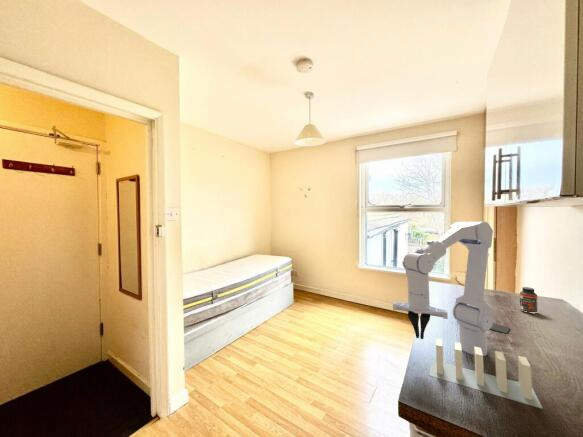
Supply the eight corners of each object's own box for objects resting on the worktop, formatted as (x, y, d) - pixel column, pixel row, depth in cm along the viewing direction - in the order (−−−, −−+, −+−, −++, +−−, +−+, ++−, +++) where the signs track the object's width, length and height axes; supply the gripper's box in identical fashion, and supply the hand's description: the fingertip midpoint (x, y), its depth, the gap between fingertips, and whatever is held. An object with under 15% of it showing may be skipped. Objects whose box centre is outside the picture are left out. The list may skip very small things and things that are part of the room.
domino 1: (455, 369, 68) (454, 342, 69) (462, 371, 68) (460, 343, 68) (456, 378, 65) (455, 349, 65) (462, 380, 64) (461, 350, 64)
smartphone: (507, 333, 91) (461, 321, 102) (507, 336, 91) (461, 323, 102) (511, 327, 95) (466, 316, 107) (511, 330, 95) (466, 318, 107)
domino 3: (496, 380, 64) (495, 350, 64) (503, 382, 63) (502, 352, 63) (499, 390, 60) (498, 358, 60) (507, 392, 59) (505, 360, 59)
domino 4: (519, 386, 61) (517, 355, 61) (527, 388, 60) (525, 357, 60) (523, 397, 57) (522, 364, 57) (532, 400, 57) (530, 366, 57)
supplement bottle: (521, 312, 111) (520, 288, 111) (518, 308, 116) (517, 285, 116) (539, 315, 107) (538, 290, 108) (535, 311, 112) (534, 287, 113)
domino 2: (475, 375, 66) (474, 346, 66) (482, 376, 65) (480, 347, 65) (476, 384, 62) (475, 353, 62) (484, 386, 62) (482, 355, 62)
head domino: (437, 365, 71) (436, 338, 71) (443, 366, 70) (442, 339, 70) (437, 373, 67) (436, 344, 67) (443, 374, 66) (442, 346, 67)
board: (431, 363, 74) (431, 359, 74) (531, 390, 61) (531, 385, 61) (429, 379, 66) (429, 375, 66) (543, 413, 54) (542, 408, 54)
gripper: (390, 292, 73) (391, 336, 72) (446, 300, 64) (448, 349, 64) (394, 286, 78) (396, 327, 78) (446, 293, 70) (448, 338, 70)
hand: (419, 337), depth 72 cm, fingers closed
